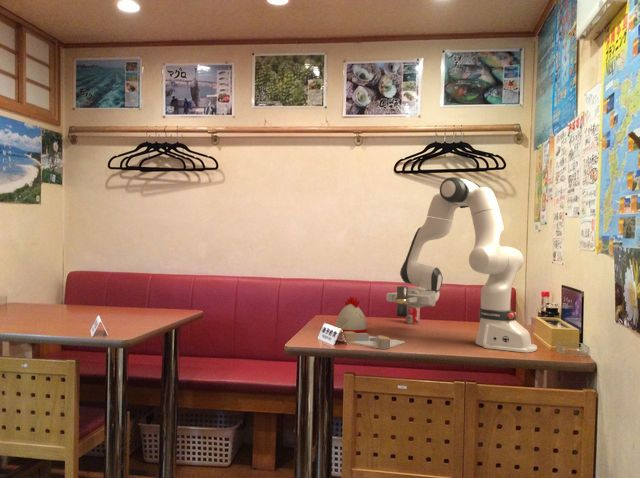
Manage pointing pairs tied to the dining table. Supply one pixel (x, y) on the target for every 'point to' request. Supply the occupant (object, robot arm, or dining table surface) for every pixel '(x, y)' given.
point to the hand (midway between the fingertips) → (401, 299)
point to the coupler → (402, 301)
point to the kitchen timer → (352, 317)
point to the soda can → (413, 315)
